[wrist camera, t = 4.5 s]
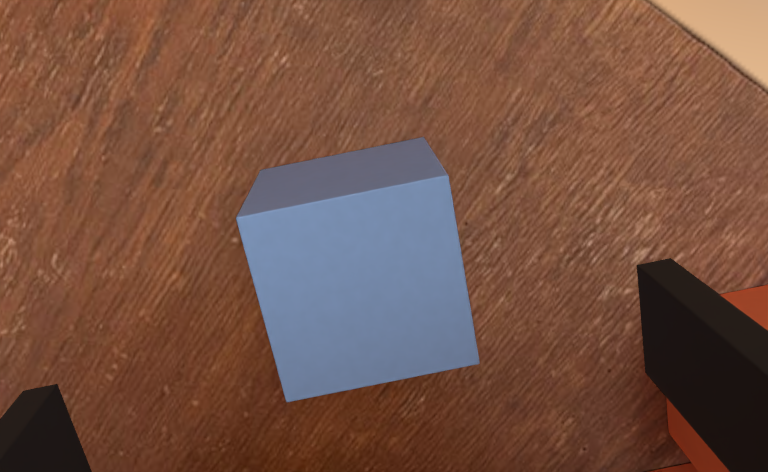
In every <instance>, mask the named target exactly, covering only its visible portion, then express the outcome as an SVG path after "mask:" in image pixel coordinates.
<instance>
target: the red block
mask: <svg viewBox="0 0 768 472" xmlns="http://www.w3.org/2000/svg"><path fill="white" fill-rule="evenodd" d="M719 295H721V296H722V297H723V298H725V299H726V300H727V301H729V302H730V303H731V304H733V305H734V306H735V307H737V308H738V309H739V310H741V311H742V312H744V313H745V314H746V315H748V316H749V317H750V318H752V319H753V320H754V321H756V322H757V323H758V324H760V325H761V326H762V327H764V328H765V329H766V330H768V285H764V286H759V287H754V288H749V289H744V290H739V291H734V292H729V293H724V294H719ZM666 401H667V415H668V429H669V434H670V435H671V437H672V438H673V439H674V440H675V442H676V443H677V444H678V446H679V447H680V448H681V450H682V451H683V452H684V453H685V455H686V456H687V457H688V459H689V460H690V461H691V463H692V464H693V465H694V466H695V468H696V469H697V470H698V472H730V471H729V470H728V469H727V468H726V467H725V466H724V464H723V463H722V462H721V461H720V460H719V459H718V457H717V456H716V455H715V454H714V453H713V451H712V450H711V449H710V448H709V447H708V446H707V444H706V443H705V442H704V441H703V440H702V439H701V437H700V436H699V435H698V434H697V433H696V431H695V430H694V429H693V428H692V427H691V426H690V424H689V423H688V422H687V421H686V420H685V419H684V417H683V416H682V415H681V414H680V413H679V412H678V410H677V409H676V408H675V407H674V406H673V404H672V403H671V402H670V401H669V400H668V399H667V397H666Z"/></svg>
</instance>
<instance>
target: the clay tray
mask: <svg viewBox="0 0 768 472" xmlns="http://www.w3.org/2000/svg"><path fill="white" fill-rule="evenodd" d="M648 472H698V470H697V469H696V468H695V466H694V465H693V464H692V463H689V464H683V465H678V466H673V467H668V468H663V469H658V470H653V471H648Z"/></svg>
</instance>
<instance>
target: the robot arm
mask: <svg viewBox="0 0 768 472" xmlns="http://www.w3.org/2000/svg"><path fill="white" fill-rule="evenodd" d="M637 273H638V286H639V298H640V311H641V323H642V336H643V348H644V361H645V373H646V374H647V375H648V376H649V377H650V379H651V380H652V381H653V382H654V383H655V385H656V386H657V387H658V388H659V389H660V390H661V392H662V393H663V394H664V395H665V396H666V397H667V399H668V400H669V401H670V402H671V403H672V404H673V406H674V407H675V408H676V409H677V410H678V412H679V413H680V414H681V415H682V416H683V417H684V419H685V420H686V421H687V422H688V423H689V424H690V426H691V427H692V428H693V429H694V430H695V431H696V433H697V434H698V435H699V436H700V437H701V439H702V440H703V441H704V442H705V443H706V444H707V446H708V447H709V448H710V449H711V450H712V451H713V453H714V454H715V455H716V456H717V457H718V459H719V460H720V461H721V462H722V463H723V464H724V466H725V467H726V468H727V469H728V470H729V471H730V472H768V330H766V329H765V328H764V327H762V326H761V325H760V324H758V323H757V322H756V321H754V320H753V319H752V318H750V317H749V316H748V315H746V314H745V313H744V312H742V311H741V310H739V309H738V308H737V307H735V306H734V305H733V304H731V303H730V302H729V301H727V300H726V299H725V298H723V297H722V296H721V295H719V294H718V293H717V292H715V291H714V290H713V289H711V288H710V287H709V286H707V285H706V284H705V283H703V282H702V281H700V280H699V279H698V278H696V277H695V276H694V275H692V274H691V273H690V272H688V271H687V270H686V269H684V268H683V267H682V266H680V265H679V264H678V263H676V262H675V261H674V260H672V259H671V258H670V259H665V260H660V261H655V262H650V263H645V264H640V265H637ZM0 472H92V471H91V469H90V466H89V464H88V461H87V459H86V456H85V453H84V451H83V448H82V446H81V443H80V441H79V438H78V436H77V433H76V431H75V428H74V426H73V423H72V421H71V418H70V415H69V413H68V410H67V408H66V405H65V403H64V400H63V398H62V395H61V393H60V390H59V388H58V385H57V384H55V385H50V386H45V387H40V388H35V389H30V390H26V391H23V392H22V393H21V394H20V395H19V397H18V398H17V399H16V400H15V402H14V403H13V404H12V405H11V406H10V408H9V409H8V410H7V411H6V413H5V414H4V415H3V416H2V417H1V419H0Z"/></svg>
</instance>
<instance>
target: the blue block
mask: <svg viewBox="0 0 768 472" xmlns="http://www.w3.org/2000/svg"><path fill="white" fill-rule="evenodd" d="M236 221H237V224H238V228H239V232H240V235H241V239H242V243H243V246H244V250H245V254H246V257H247V261H248V264H249V268H250V272H251V275H252V279H253V283H254V286H255V290H256V294H257V297H258V301H259V305H260V308H261V312H262V316H263V319H264V323H265V326H266V330H267V334H268V337H269V341H270V345H271V348H272V352H273V356H274V359H275V363H276V367H277V370H278V374H279V378H280V381H281V385H282V388H283V392H284V396H285V399H286V402H291V401H296V400H301V399H306V398H311V397H316V396H321V395H326V394H331V393H336V392H341V391H346V390H351V389H356V388H361V387H366V386H371V385H376V384H381V383H386V382H391V381H396V380H401V379H406V378H411V377H416V376H421V375H426V374H431V373H436V372H441V371H446V370H451V369H456V368H461V367H466V366H471V365H476V364H479V363H480V361H479V355H478V349H477V343H476V337H475V331H474V325H473V319H472V313H471V307H470V301H469V295H468V289H467V283H466V277H465V271H464V265H463V259H462V253H461V247H460V241H459V235H458V230H457V224H456V218H455V212H454V206H453V200H452V194H451V188H450V182H449V176H448V174H447V173H446V171H445V170H444V168H443V166H442V165H441V163H440V162H439V160H438V159H437V157H436V155H435V154H434V152H433V151H432V149H431V147H430V146H429V144H428V143H427V141H426V140H425V138H424V137H421V138H416V139H411V140H406V141H402V142H397V143H392V144H387V145H382V146H377V147H372V148H367V149H362V150H357V151H352V152H347V153H342V154H337V155H332V156H327V157H322V158H318V159H313V160H308V161H303V162H298V163H293V164H288V165H283V166H278V167H273V168H268V169H263V170H260V172H259V174H258V176H257V178H256V180H255V182H254V184H253V186H252V188H251V190H250V192H249V194H248V196H247V197H246V199H245V201H244V203H243V205H242V207H241V209H240V211H239V213H238V215H237V217H236Z"/></svg>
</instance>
